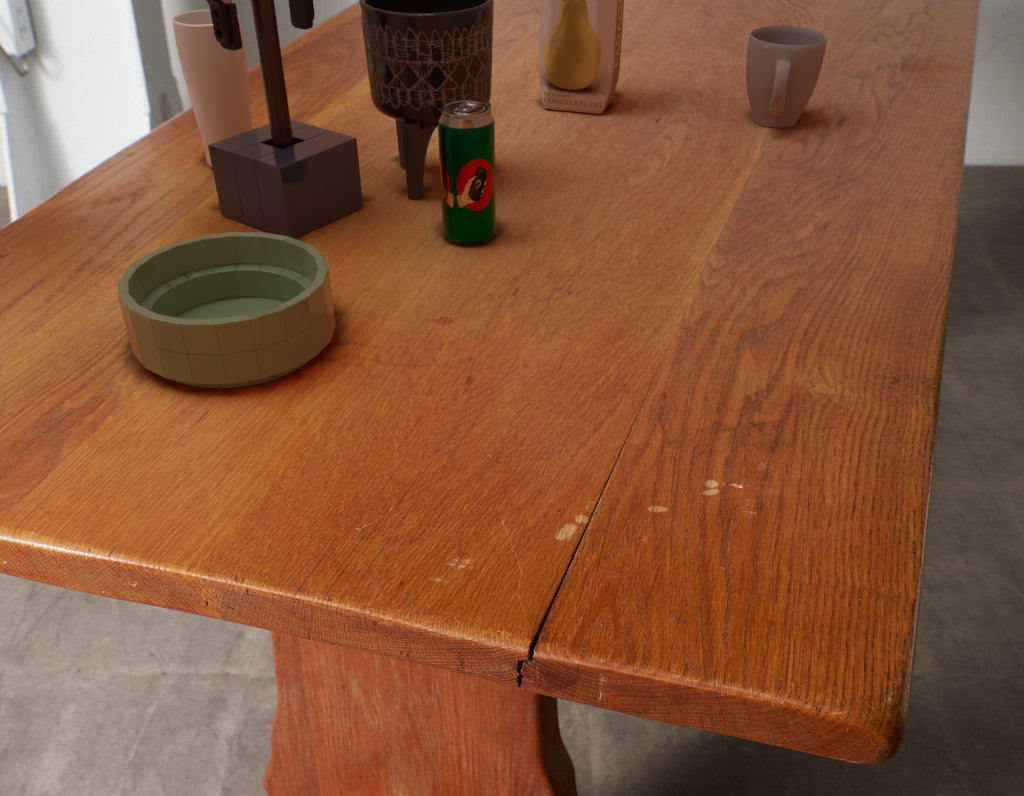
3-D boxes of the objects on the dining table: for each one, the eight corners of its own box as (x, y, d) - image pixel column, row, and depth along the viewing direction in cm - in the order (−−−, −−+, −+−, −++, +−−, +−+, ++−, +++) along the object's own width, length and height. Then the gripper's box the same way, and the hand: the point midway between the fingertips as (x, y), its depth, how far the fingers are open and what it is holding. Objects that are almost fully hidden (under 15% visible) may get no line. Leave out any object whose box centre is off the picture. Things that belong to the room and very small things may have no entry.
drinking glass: (250, 177, 108) (225, 26, 99) (190, 173, 109) (159, 24, 100) (271, 155, 113) (249, 9, 104) (214, 151, 114) (187, 7, 105)
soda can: (505, 232, 97) (505, 104, 90) (478, 252, 94) (474, 120, 86) (461, 221, 99) (457, 95, 92) (432, 240, 96) (425, 111, 88)
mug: (740, 106, 127) (752, 23, 120) (812, 111, 125) (828, 27, 119) (732, 138, 118) (745, 50, 111) (810, 144, 116) (826, 55, 110)
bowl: (95, 353, 80) (74, 283, 76) (247, 281, 89) (235, 216, 85) (226, 420, 72) (210, 346, 68) (376, 334, 82) (369, 265, 78)
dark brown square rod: (276, 211, 101) (242, -8, 89) (291, 205, 102) (260, -12, 90) (294, 217, 100) (262, -4, 87) (308, 211, 101) (279, -8, 89)
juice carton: (534, 111, 125) (536, -115, 110) (551, 92, 131) (555, -125, 116) (607, 118, 123) (620, -111, 108) (621, 98, 129) (635, -121, 114)
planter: (351, 177, 108) (332, -5, 97) (447, 150, 115) (440, -24, 103) (422, 214, 101) (410, 21, 89) (520, 182, 107) (521, -1, 96)
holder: (221, 215, 100) (207, 144, 96) (295, 184, 107) (285, 117, 102) (290, 240, 96) (279, 168, 91) (363, 207, 102) (356, 137, 97)
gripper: (271, -189, 87) (297, 16, 97) (132, -175, 78) (177, 49, 88) (333, -184, 83) (353, 28, 94) (195, -169, 75) (234, 63, 85)
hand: (268, 38), depth 91 cm, fingers open, 8 cm apart
